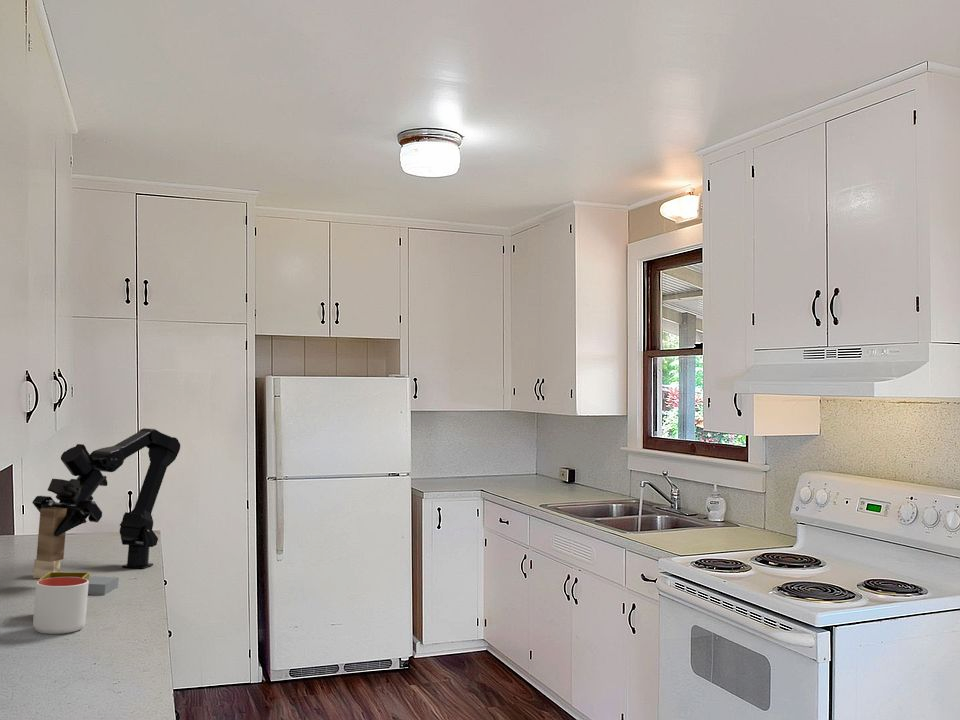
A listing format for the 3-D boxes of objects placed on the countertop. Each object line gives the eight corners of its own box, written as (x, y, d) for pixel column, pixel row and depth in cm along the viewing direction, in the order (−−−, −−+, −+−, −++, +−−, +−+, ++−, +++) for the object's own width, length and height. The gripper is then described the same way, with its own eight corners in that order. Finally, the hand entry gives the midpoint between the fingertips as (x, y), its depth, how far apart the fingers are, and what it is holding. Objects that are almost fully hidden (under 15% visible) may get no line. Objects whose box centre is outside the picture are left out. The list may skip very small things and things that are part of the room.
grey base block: (82, 587, 224) (83, 576, 224) (117, 589, 224) (118, 577, 224) (67, 595, 215) (68, 583, 215) (104, 596, 215) (105, 584, 215)
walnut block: (49, 557, 224) (53, 507, 225) (63, 559, 223) (67, 508, 224) (36, 560, 220) (40, 508, 221) (50, 561, 219) (54, 510, 219)
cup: (21, 630, 180) (25, 581, 181) (64, 621, 189) (68, 574, 190) (53, 638, 176) (57, 588, 176) (95, 628, 184) (99, 581, 185)
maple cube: (39, 575, 235) (41, 556, 235) (59, 575, 235) (60, 557, 235) (32, 578, 230) (34, 559, 230) (52, 579, 230) (54, 560, 231)
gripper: (40, 464, 229) (2, 510, 218) (97, 470, 223) (61, 517, 212) (61, 492, 236) (25, 538, 225) (117, 498, 231) (83, 545, 219)
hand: (47, 534), depth 220 cm, fingers closed on walnut block, 4 cm apart
